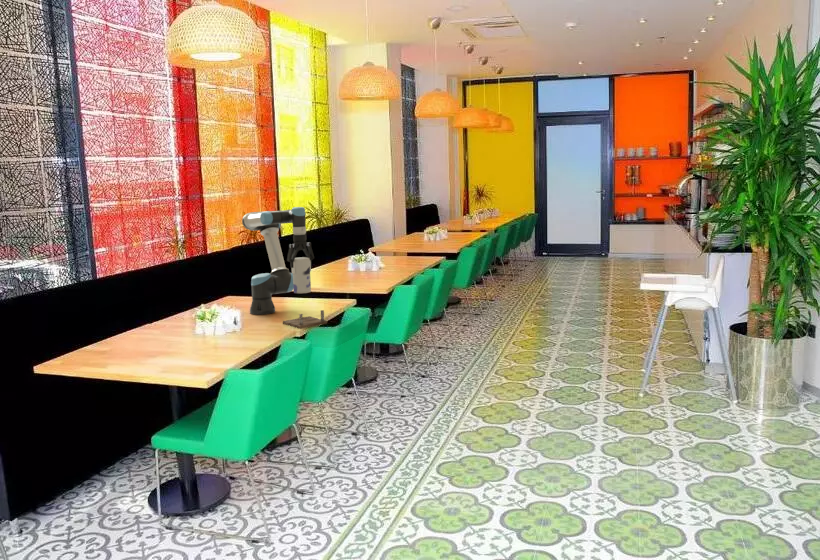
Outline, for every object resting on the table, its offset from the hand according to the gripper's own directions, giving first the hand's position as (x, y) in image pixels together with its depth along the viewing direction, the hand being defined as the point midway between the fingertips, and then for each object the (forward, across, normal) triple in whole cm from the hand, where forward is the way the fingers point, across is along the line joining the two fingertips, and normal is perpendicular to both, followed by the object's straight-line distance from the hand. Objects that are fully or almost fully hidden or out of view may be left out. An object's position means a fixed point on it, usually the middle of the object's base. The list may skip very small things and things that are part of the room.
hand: (301, 272), depth 425 cm
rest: (+27, -9, -15) cm, 32 cm away
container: (+12, 0, 0) cm, 12 cm away
